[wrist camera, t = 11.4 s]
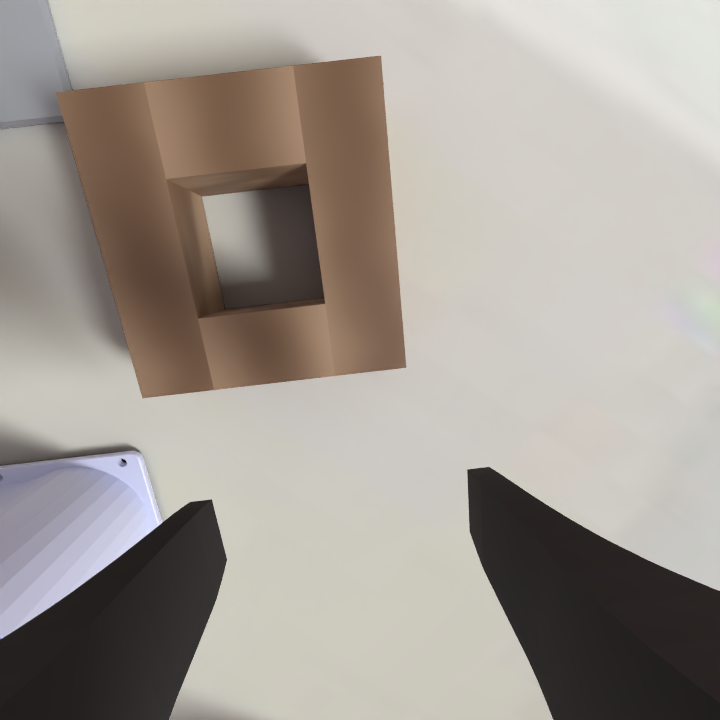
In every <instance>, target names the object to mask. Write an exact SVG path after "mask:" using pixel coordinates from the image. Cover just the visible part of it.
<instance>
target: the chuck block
mask: <svg viewBox="0 0 720 720" xmlns="http://www.w3.org/2000/svg"><path fill="white" fill-rule="evenodd" d="M56 95H57V99H58V102H59V106H60V109H61V113H62V116H63V120H64V123H65V127H66V131H67V134H68V138H69V141H70V145H71V148H72V152H73V155H74V159H75V162H76V166H77V169H78V173H79V176H80V180H81V183H82V187H83V190H84V194H85V197H86V201H87V204H88V208H89V211H90V215H91V218H92V222H93V225H94V229H95V232H96V236H97V239H98V243H99V247H100V250H101V254H102V257H103V261H104V264H105V268H106V271H107V275H108V278H109V282H110V285H111V289H112V292H113V296H114V299H115V303H116V306H117V310H118V313H119V317H120V320H121V324H122V327H123V331H124V334H125V338H126V341H127V345H128V348H129V352H130V355H131V359H132V363H133V366H134V370H135V373H136V377H137V380H138V384H139V387H140V391H141V394H142V398H148V397H157V396H165V395H174V394H183V393H191V392H200V391H208V390H217V389H226V388H234V387H243V386H251V385H260V384H269V383H277V382H286V381H294V380H303V379H312V378H320V377H329V376H337V375H346V374H355V373H363V372H372V371H381V370H389V369H398V368H406V360H405V347H404V335H403V323H402V310H401V298H400V286H399V274H398V261H397V249H396V237H395V224H394V212H393V200H392V187H391V175H390V163H389V150H388V138H387V126H386V113H385V101H384V89H383V76H382V64H381V56H374V57H365V58H356V59H348V60H339V61H330V62H321V63H312V64H303V65H294V66H286V67H277V68H268V69H259V70H250V71H241V72H232V73H223V74H215V75H206V76H197V77H188V78H179V79H170V80H161V81H152V82H144V83H135V84H126V85H117V86H108V87H99V88H90V89H82V90H73V91H64V92H56ZM306 184H309V188H310V195H311V203H312V210H313V217H314V225H315V232H316V240H317V247H318V254H319V262H320V269H321V277H322V284H323V291H324V298H320V299H311V300H302V301H294V302H285V303H276V304H268V305H259V306H250V307H242V308H233V309H225V306H224V302H223V297H222V292H221V287H220V282H219V277H218V273H217V268H216V263H215V258H214V253H213V249H212V244H211V239H210V234H209V229H208V224H207V220H206V215H205V210H204V205H203V200H202V196H210V195H218V194H227V193H236V192H245V191H253V190H262V189H271V188H280V187H288V186H297V185H306Z"/></svg>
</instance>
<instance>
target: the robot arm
mask: <svg viewBox="0 0 720 720" xmlns="http://www.w3.org/2000/svg"><path fill="white" fill-rule="evenodd" d="M121 459H124V460H126V462H127V463H124V462H123V461H122V460H121ZM467 471H468V497H469V523H470V533H471V536H472V539H473V542H474V545H475V547H476V550H477V553H478V556H479V558H480V561H481V564H482V566H483V569H484V571H485V573H486V575H487V577H488V579H489V581H490V583H491V585H492V587H493V589H494V591H495V593H496V595H497V598H498V600H499V602H500V604H501V606H502V608H503V610H504V612H505V614H506V616H507V618H508V620H509V622H510V624H511V626H512V628H513V630H514V632H515V634H516V636H517V638H518V640H519V642H520V644H521V646H522V648H523V650H524V652H525V654H526V656H527V658H528V660H529V662H530V665H531V667H532V669H533V671H534V673H535V676H536V678H537V680H538V682H539V685H540V687H541V690H542V692H543V695H544V697H545V700H546V702H547V705H548V707H549V710H550V712H551V715H552V717H553V719H554V720H720V591H718V590H715V589H713V588H710V587H708V586H705V585H703V584H701V583H698V582H696V581H694V580H691V579H689V578H687V577H684V576H682V575H680V574H677V573H675V572H673V571H670V570H668V569H666V568H664V567H661V566H659V565H657V564H655V563H653V562H650V561H648V560H646V559H644V558H642V557H640V556H638V555H636V554H634V553H632V552H630V551H628V550H626V549H624V548H622V547H620V546H618V545H616V544H614V543H612V542H610V541H608V540H606V539H604V538H602V537H600V536H599V535H597V534H595V533H593V532H591V531H590V530H588V529H586V528H584V527H583V526H581V525H579V524H577V523H576V522H574V521H572V520H570V519H569V518H567V517H565V516H564V515H562V514H561V513H559V512H557V511H556V510H554V509H552V508H551V507H549V506H548V505H546V504H544V503H543V502H541V501H540V500H538V499H537V498H535V497H534V496H532V495H531V494H529V493H528V492H526V491H525V490H523V489H522V488H520V487H519V486H517V485H516V484H514V483H513V482H511V481H510V480H508V479H507V478H505V477H504V476H502V475H501V474H499V473H498V472H496V471H495V470H493V469H491V468H490V467H486V468H477V469H469V470H467ZM0 474H1V475H2V476H1V475H0V720H169V718H170V715H171V712H172V709H173V707H174V704H175V701H176V699H177V696H178V694H179V691H180V689H181V686H182V684H183V681H184V679H185V676H186V674H187V671H188V669H189V666H190V664H191V662H192V659H193V657H194V654H195V652H196V649H197V647H198V644H199V642H200V639H201V637H202V634H203V632H204V629H205V627H206V624H207V622H208V619H209V617H210V614H211V612H212V609H213V606H214V604H215V601H216V599H217V595H218V592H219V588H220V585H221V581H222V577H223V573H224V569H225V565H226V561H227V558H226V554H225V550H224V546H223V542H222V538H221V534H220V530H219V526H218V523H217V519H216V515H215V511H214V507H213V503H212V500H204V501H196V502H190V503H188V504H187V505H185V506H184V507H182V508H181V509H180V510H178V511H177V512H176V513H174V514H173V515H172V516H170V517H169V518H168V519H166V520H165V521H164V522H163V523H162V519H161V516H160V513H159V509H158V506H157V503H156V499H155V496H154V493H153V489H152V486H151V483H150V479H149V476H148V472H147V469H146V466H145V462H144V459H143V456H142V455H141V454H140V453H139V452H137V451H124V452H116V453H107V454H99V455H90V456H82V457H73V458H64V459H56V460H47V461H39V462H30V463H22V464H13V465H4V466H0Z"/></svg>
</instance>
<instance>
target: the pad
mask: <svg viewBox="0 0 720 720" xmlns="http://www.w3.org/2000/svg"><path fill="white" fill-rule="evenodd" d="M64 91H72V88H71V85H70V81H69V77H68V74H67V70H66V66H65V63H64V59H63V55H62V52H61V48H60V44H59V41H58V37H57V33H56V30H55V26H54V22H53V19H52V15H51V12H50V8H49V4H48V1H47V0H0V129H4V128H13V127H22V126H31V125H40V124H49V123H57V122H64V120H63V116H62V113H61V109H60V106H59V102H58V99H57V95H56V92H64Z"/></svg>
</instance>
